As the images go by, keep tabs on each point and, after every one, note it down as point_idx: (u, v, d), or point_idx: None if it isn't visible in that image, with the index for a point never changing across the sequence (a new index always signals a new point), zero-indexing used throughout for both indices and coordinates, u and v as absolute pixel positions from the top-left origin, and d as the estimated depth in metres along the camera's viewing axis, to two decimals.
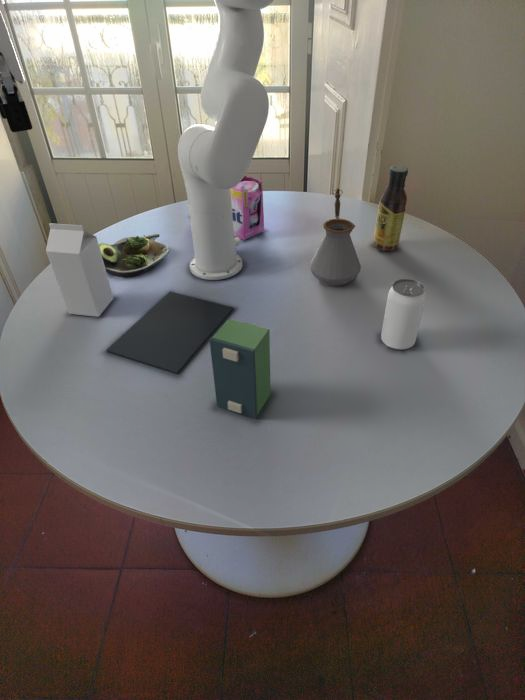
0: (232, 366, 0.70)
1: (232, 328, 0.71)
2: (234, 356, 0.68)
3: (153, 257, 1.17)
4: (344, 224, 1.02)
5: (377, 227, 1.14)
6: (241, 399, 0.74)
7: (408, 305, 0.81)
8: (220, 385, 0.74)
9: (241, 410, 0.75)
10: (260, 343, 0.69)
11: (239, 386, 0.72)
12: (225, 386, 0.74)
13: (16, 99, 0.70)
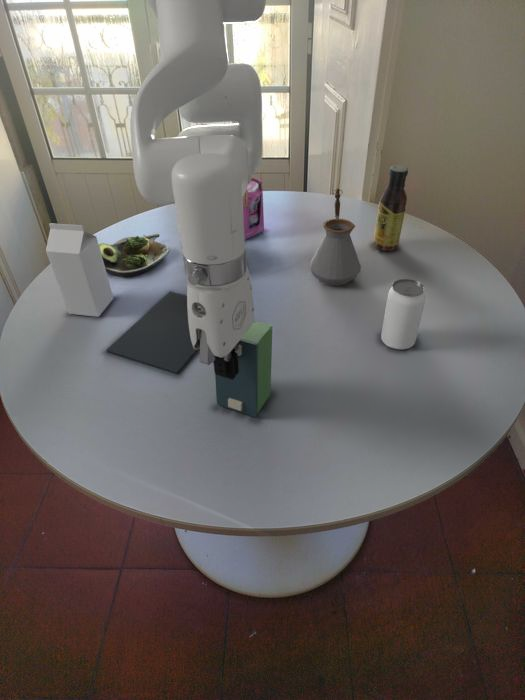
0: None
1: None
2: (237, 350, 0.68)
3: (153, 257, 1.17)
4: (344, 224, 1.02)
5: (377, 227, 1.14)
6: (242, 396, 0.74)
7: (408, 304, 0.81)
8: (221, 381, 0.74)
9: (241, 408, 0.75)
10: (263, 338, 0.69)
11: (240, 382, 0.72)
12: (226, 382, 0.74)
13: (220, 359, 0.64)
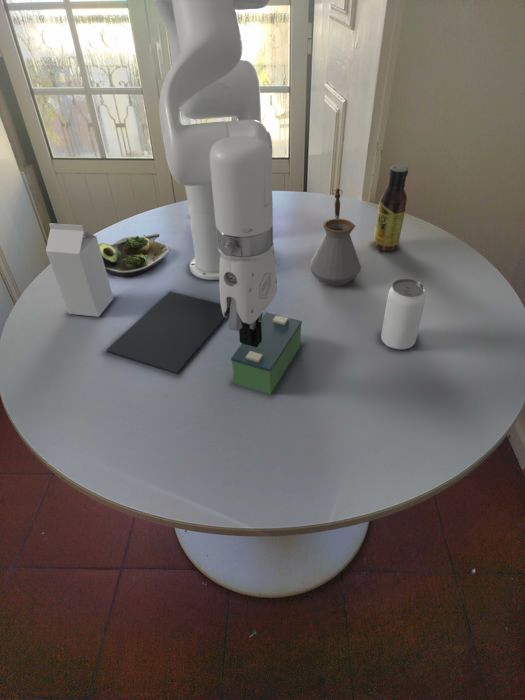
0: (275, 328, 0.84)
1: None
2: (284, 319, 0.85)
3: (153, 257, 1.17)
4: (344, 224, 1.02)
5: (377, 227, 1.14)
6: (265, 352, 0.79)
7: (408, 304, 0.81)
8: None
9: (260, 359, 0.77)
10: (300, 333, 0.87)
11: (271, 342, 0.81)
12: None
13: (246, 327, 0.70)
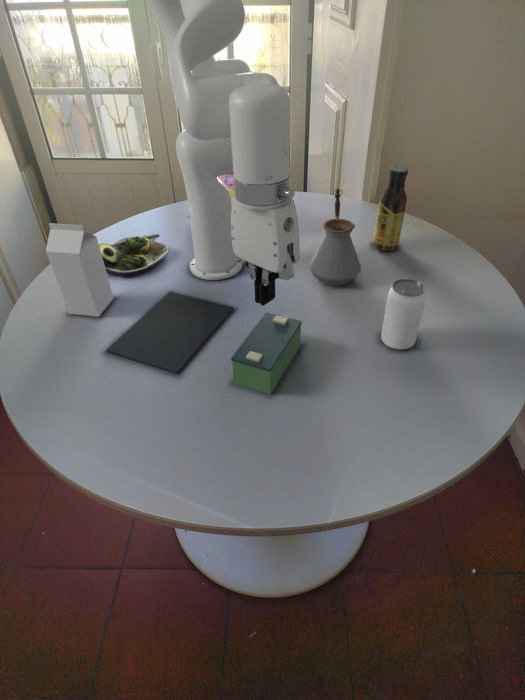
0: (275, 328, 0.84)
1: None
2: (284, 319, 0.85)
3: (153, 257, 1.17)
4: (344, 224, 1.02)
5: (377, 227, 1.14)
6: (265, 352, 0.79)
7: (408, 304, 0.81)
8: (250, 341, 0.81)
9: (260, 359, 0.77)
10: (300, 333, 0.87)
11: (271, 342, 0.81)
12: (255, 342, 0.81)
13: (276, 278, 0.72)
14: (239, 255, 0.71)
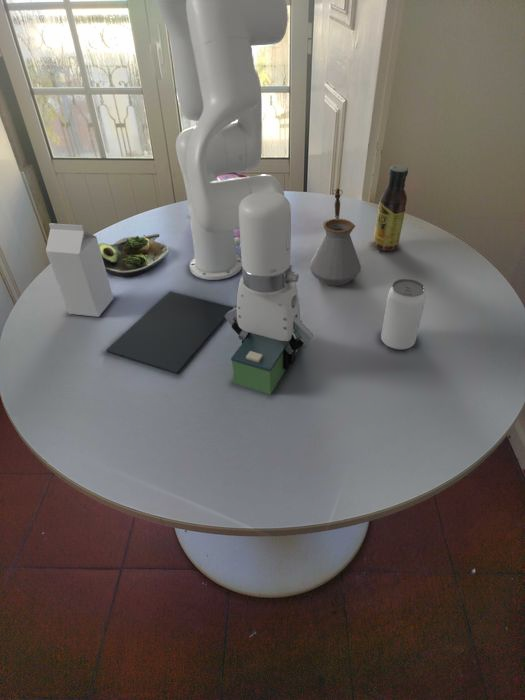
0: None
1: None
2: None
3: (153, 257, 1.17)
4: (344, 224, 1.02)
5: (377, 227, 1.14)
6: (265, 352, 0.79)
7: (408, 304, 0.81)
8: (250, 341, 0.81)
9: (260, 359, 0.77)
10: None
11: (271, 342, 0.81)
12: (255, 342, 0.81)
13: None
14: (245, 329, 0.80)
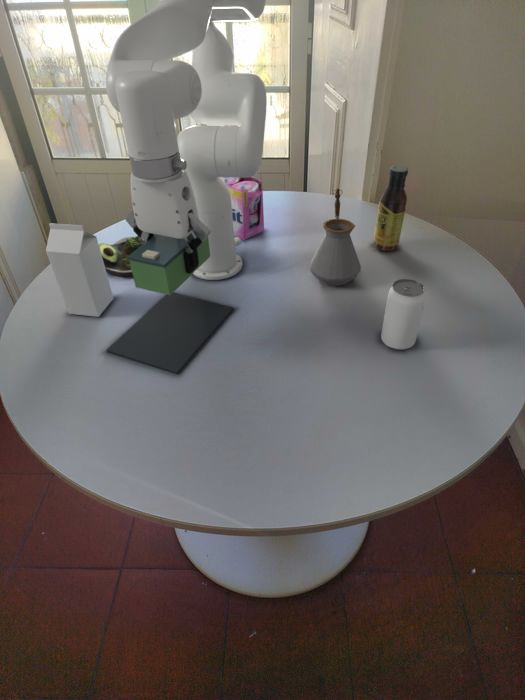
0: None
1: None
2: None
3: None
4: (344, 224, 1.02)
5: (377, 227, 1.14)
6: (163, 251, 0.78)
7: (408, 304, 0.81)
8: (151, 243, 0.80)
9: (155, 256, 0.76)
10: (207, 240, 0.85)
11: (171, 243, 0.80)
12: (156, 243, 0.80)
13: (198, 246, 0.79)
14: (144, 229, 0.78)
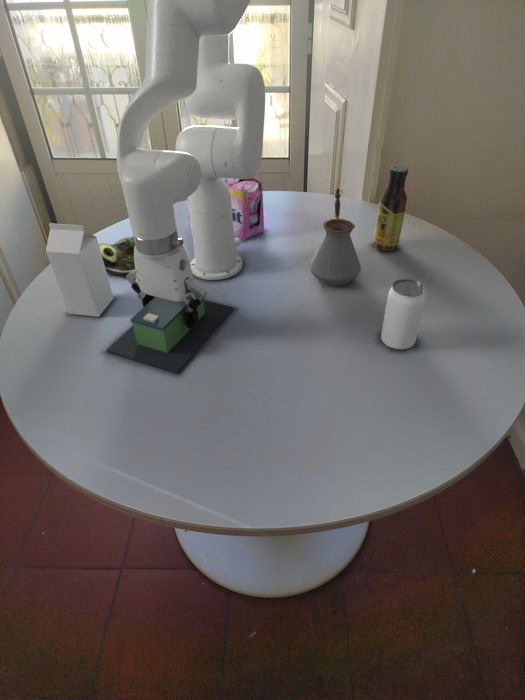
0: None
1: None
2: None
3: None
4: (344, 224, 1.02)
5: (377, 227, 1.14)
6: (162, 314, 0.87)
7: (408, 304, 0.81)
8: (151, 305, 0.90)
9: (155, 320, 0.86)
10: None
11: (170, 306, 0.89)
12: (156, 306, 0.90)
13: None
14: (146, 292, 0.88)
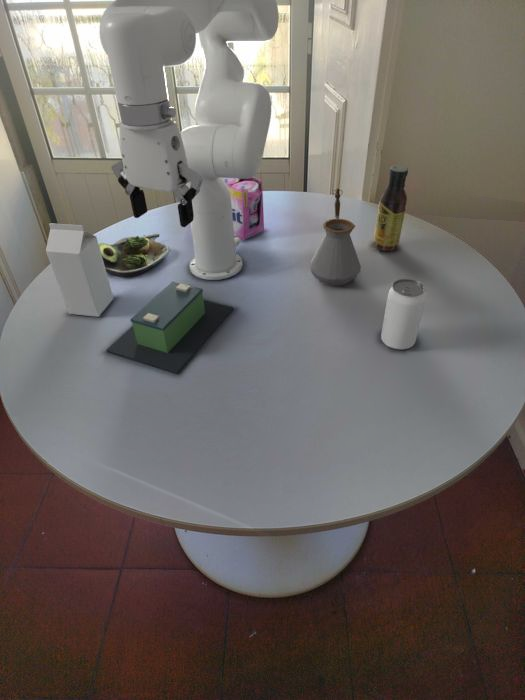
0: (176, 295, 0.92)
1: None
2: (186, 287, 0.93)
3: (153, 257, 1.17)
4: (344, 224, 1.02)
5: (377, 227, 1.14)
6: (162, 314, 0.87)
7: (408, 304, 0.81)
8: (151, 305, 0.90)
9: (155, 320, 0.86)
10: (202, 300, 0.95)
11: (170, 306, 0.89)
12: (156, 306, 0.90)
13: (193, 198, 0.77)
14: (134, 183, 0.77)
